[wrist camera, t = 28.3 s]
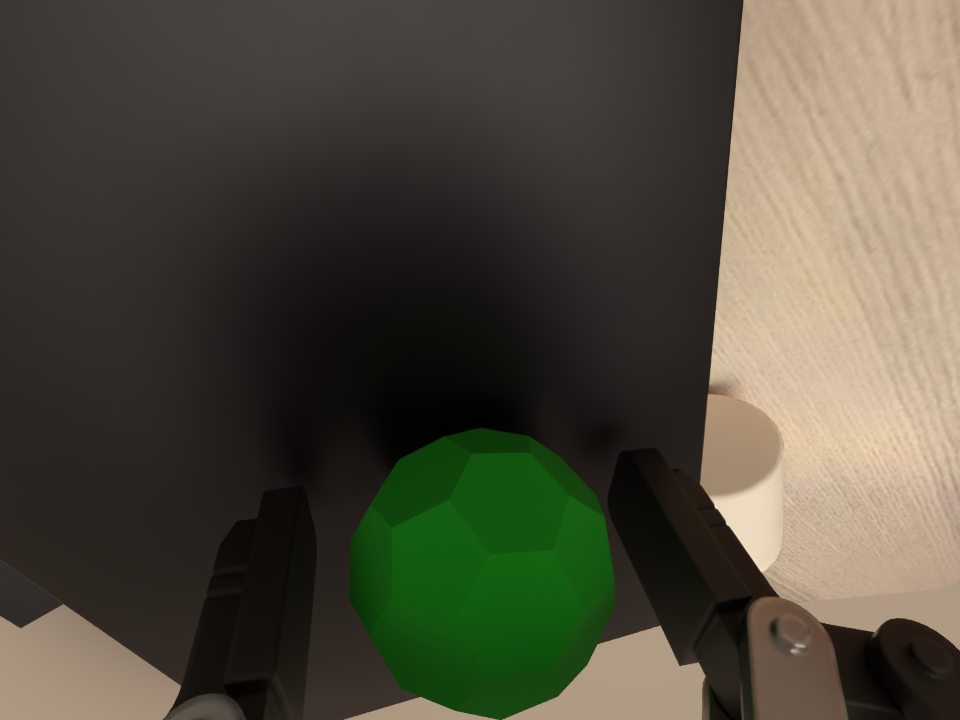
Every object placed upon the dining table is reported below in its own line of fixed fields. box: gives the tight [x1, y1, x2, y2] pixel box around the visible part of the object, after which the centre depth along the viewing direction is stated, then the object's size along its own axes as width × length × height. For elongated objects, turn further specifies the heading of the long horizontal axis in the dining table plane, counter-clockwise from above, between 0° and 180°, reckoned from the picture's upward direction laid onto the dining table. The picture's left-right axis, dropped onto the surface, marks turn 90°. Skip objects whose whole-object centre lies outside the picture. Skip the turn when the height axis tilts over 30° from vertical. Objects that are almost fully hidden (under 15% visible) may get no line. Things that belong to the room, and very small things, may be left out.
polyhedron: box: [349, 428, 615, 720], centre depth 10 cm, size 5×5×5 cm
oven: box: [0, 0, 743, 720], centre depth 18 cm, size 22×16×15 cm
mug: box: [700, 395, 784, 573], centre depth 33 cm, size 12×10×8 cm
